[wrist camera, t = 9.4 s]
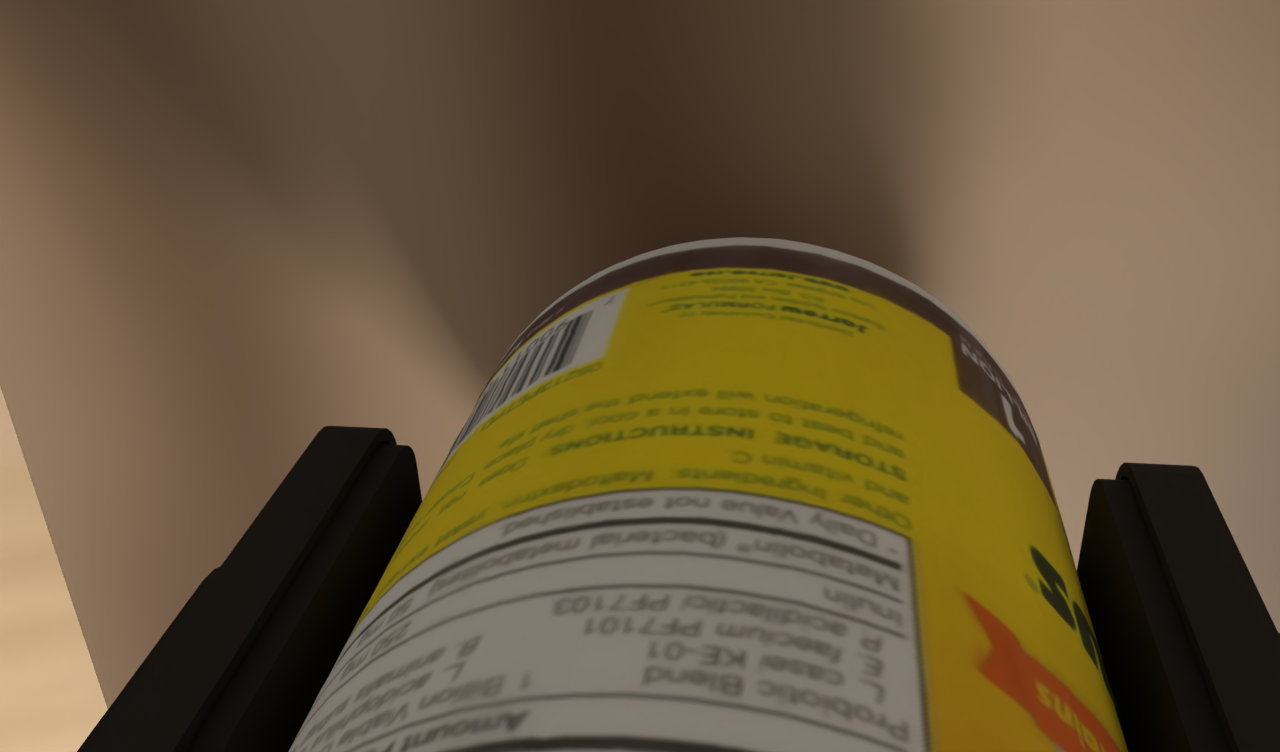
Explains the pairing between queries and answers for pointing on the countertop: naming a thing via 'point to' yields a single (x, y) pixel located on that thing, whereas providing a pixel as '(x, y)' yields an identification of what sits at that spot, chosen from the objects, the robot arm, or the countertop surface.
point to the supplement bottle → (732, 535)
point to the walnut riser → (602, 229)
